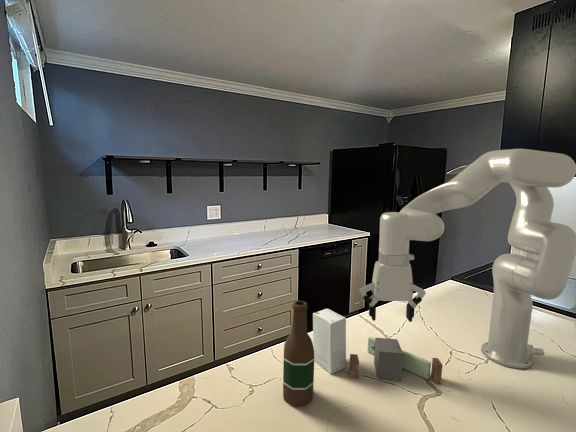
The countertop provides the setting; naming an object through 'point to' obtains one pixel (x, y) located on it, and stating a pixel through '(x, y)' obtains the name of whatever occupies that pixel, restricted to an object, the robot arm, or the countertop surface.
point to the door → (408, 361)
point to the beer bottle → (298, 360)
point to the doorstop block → (388, 359)
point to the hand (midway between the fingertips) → (390, 319)
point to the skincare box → (329, 340)
